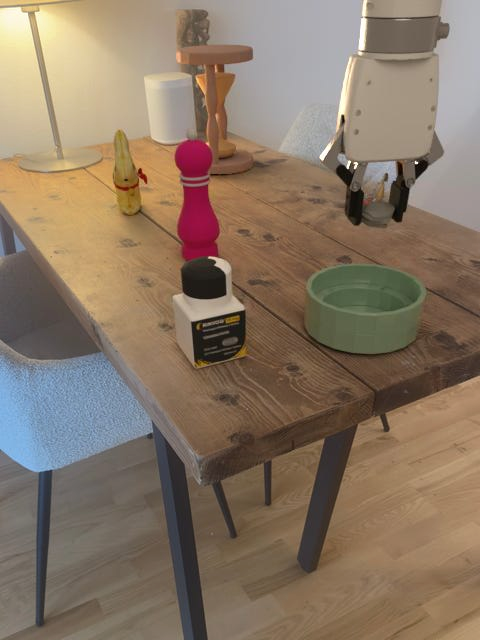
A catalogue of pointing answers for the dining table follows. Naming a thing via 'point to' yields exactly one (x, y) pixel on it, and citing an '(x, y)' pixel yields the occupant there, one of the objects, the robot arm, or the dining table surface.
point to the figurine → (377, 207)
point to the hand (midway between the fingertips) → (374, 218)
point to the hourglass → (219, 101)
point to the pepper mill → (196, 199)
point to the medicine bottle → (209, 313)
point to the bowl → (364, 308)
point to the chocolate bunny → (126, 176)
